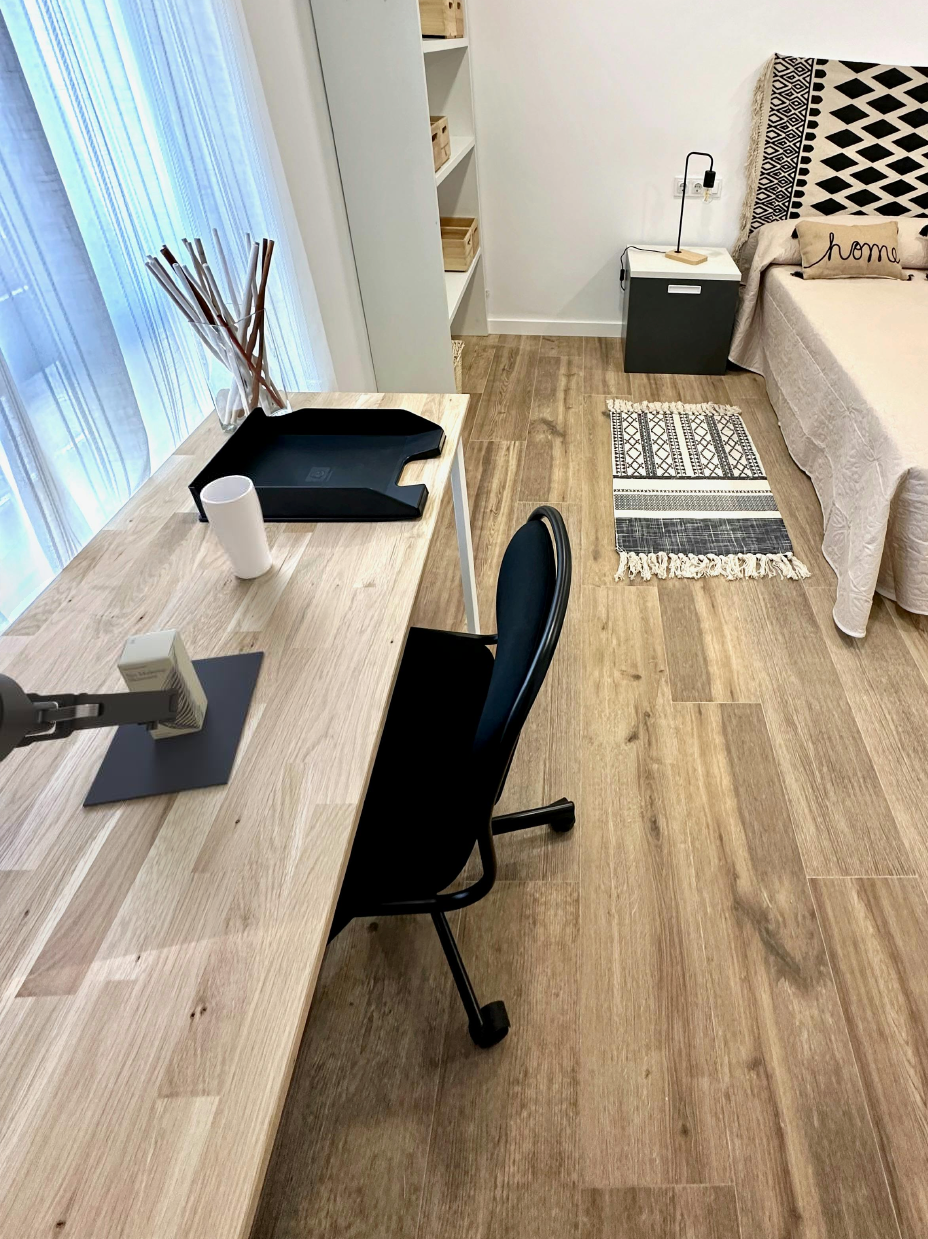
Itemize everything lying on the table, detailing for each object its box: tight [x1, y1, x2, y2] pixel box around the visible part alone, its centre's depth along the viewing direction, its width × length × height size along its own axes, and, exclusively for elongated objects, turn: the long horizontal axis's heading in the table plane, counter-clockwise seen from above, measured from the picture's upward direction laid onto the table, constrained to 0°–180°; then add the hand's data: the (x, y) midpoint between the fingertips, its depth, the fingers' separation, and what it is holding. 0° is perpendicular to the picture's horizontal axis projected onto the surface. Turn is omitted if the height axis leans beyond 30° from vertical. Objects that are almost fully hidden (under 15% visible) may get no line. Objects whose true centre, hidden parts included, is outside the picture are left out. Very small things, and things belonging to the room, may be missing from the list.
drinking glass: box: [199, 475, 273, 580], centre depth 95 cm, size 7×7×15 cm
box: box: [116, 628, 207, 739], centre depth 74 cm, size 5×4×13 cm
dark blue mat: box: [82, 650, 265, 808], centre depth 78 cm, size 14×18×1 cm
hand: (95, 718), depth 64 cm, fingers open, 13 cm apart
